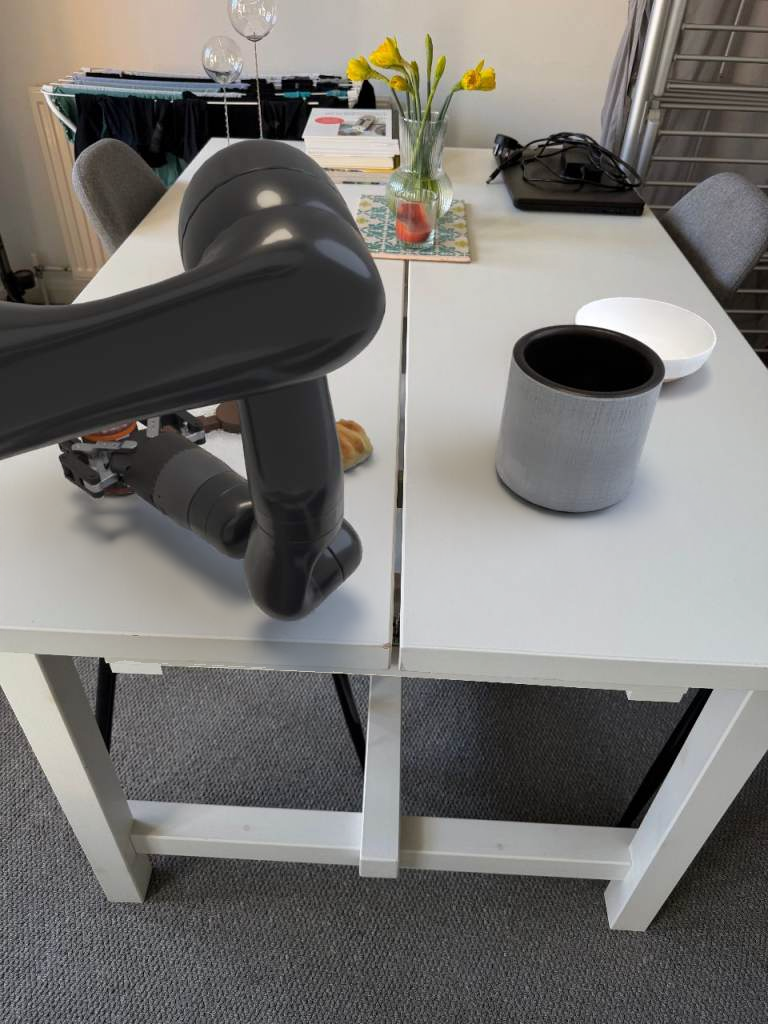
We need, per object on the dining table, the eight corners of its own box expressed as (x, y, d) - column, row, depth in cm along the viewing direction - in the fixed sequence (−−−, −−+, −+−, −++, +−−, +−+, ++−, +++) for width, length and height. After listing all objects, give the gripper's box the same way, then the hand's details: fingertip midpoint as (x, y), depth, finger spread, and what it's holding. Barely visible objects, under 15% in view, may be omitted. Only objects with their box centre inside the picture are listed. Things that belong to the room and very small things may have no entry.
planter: (549, 421, 95) (571, 309, 85) (657, 478, 86) (697, 361, 76) (465, 470, 87) (480, 352, 77) (576, 539, 78) (609, 416, 68)
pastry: (323, 491, 83) (322, 464, 81) (282, 467, 86) (279, 440, 84) (377, 455, 89) (377, 428, 86) (336, 434, 92) (335, 408, 89)
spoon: (89, 471, 85) (86, 462, 84) (79, 442, 89) (77, 433, 88) (273, 426, 93) (273, 416, 92) (257, 401, 97) (256, 392, 96)
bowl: (652, 327, 117) (662, 290, 113) (732, 388, 103) (747, 348, 99) (543, 343, 112) (549, 305, 108) (611, 409, 98) (622, 368, 94)
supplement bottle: (153, 491, 82) (132, 405, 75) (98, 502, 81) (71, 416, 73) (145, 461, 87) (126, 377, 79) (93, 471, 85) (68, 386, 78)
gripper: (240, 423, 74) (145, 367, 82) (117, 487, 65) (25, 418, 73) (247, 481, 79) (157, 423, 87) (133, 548, 70) (45, 477, 78)
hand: (96, 421), depth 80 cm, fingers open, 8 cm apart
